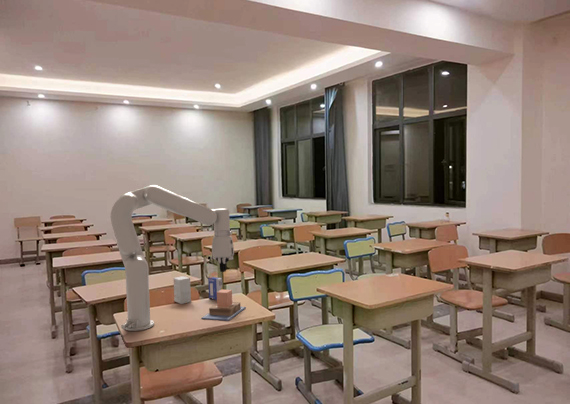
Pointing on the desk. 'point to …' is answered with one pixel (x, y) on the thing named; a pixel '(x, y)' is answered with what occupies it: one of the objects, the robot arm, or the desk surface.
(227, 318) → the board
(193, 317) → the desk surface
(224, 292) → the terracotta block
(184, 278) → the small box
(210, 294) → the walkman
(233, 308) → the walnut base block
